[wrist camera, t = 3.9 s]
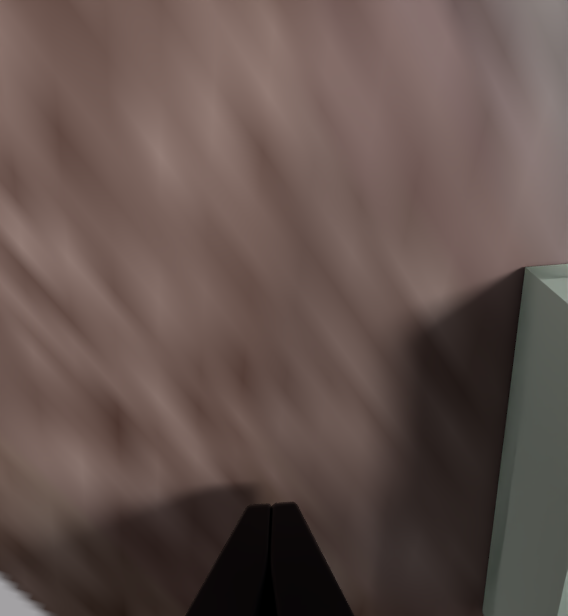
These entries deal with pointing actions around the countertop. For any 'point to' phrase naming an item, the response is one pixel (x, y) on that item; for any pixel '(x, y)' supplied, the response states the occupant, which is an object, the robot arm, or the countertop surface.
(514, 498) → the tray
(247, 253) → the countertop surface
